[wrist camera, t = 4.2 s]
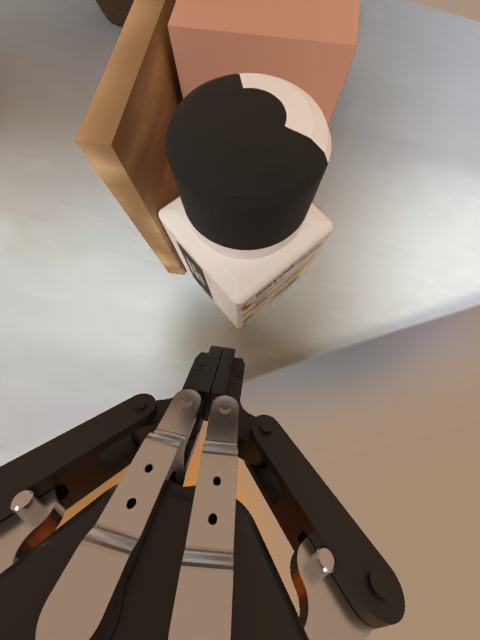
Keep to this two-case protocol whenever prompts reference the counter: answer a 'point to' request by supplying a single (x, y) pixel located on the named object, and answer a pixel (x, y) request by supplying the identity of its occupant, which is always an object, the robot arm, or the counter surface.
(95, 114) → the wooden book rack
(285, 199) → the container
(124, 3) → the plant pot
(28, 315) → the counter surface
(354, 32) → the book
